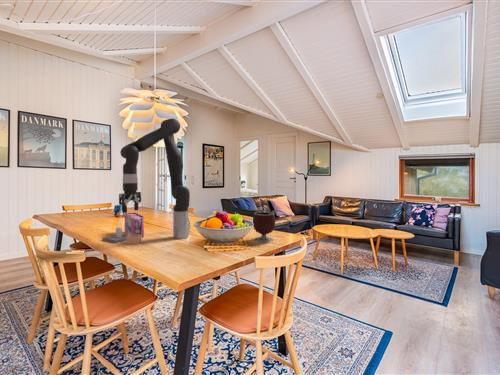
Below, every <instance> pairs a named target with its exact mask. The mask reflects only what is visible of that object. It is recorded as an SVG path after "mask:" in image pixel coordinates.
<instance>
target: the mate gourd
mask: <svg viewBox="0 0 500 375" xmlns="http://www.w3.org/2000/svg"><path fill="white" fill-rule="evenodd" d="M275 212H277V209H275V210H272V211H257V212H254V214H253V219H252V221H253V224H252V225H253V229H254V230H255V233H258V234H260V235H261V236H257V237H254V238H253V240H254V241H255V240H256V241H255V242H257V241H259V242H258V243H271V242H270V241H272V242H273V241H274V238H273V237H271V236H269V237H268V236H267V235H268V234H271V233H272V232H273V231H274V229H275V226H276V216H275Z"/></svg>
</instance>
